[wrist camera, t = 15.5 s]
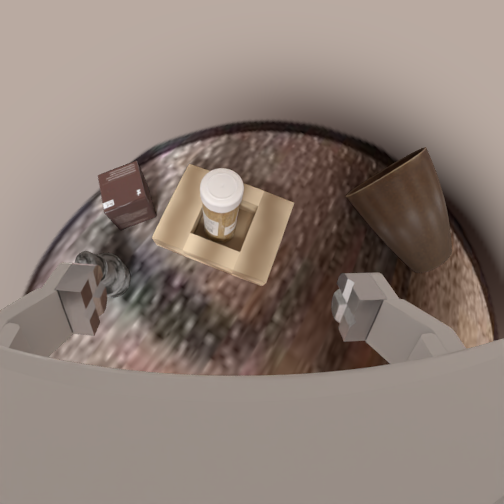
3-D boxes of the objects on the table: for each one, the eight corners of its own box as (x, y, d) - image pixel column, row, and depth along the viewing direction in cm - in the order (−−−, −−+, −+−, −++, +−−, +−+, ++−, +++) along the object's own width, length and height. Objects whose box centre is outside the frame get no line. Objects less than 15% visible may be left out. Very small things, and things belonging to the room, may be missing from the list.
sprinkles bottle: (239, 240, 43) (249, 201, 30) (207, 247, 42) (204, 210, 29) (231, 210, 44) (238, 162, 31) (200, 217, 43) (195, 171, 30)
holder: (288, 212, 45) (294, 202, 42) (262, 286, 42) (266, 282, 38) (190, 175, 45) (189, 163, 41) (156, 244, 41) (152, 237, 38)
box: (148, 183, 44) (138, 159, 37) (157, 218, 43) (147, 197, 36) (112, 196, 43) (96, 174, 35) (119, 231, 41) (103, 213, 34)
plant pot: (447, 230, 47) (406, 154, 46) (489, 241, 32) (440, 139, 32) (384, 274, 50) (339, 197, 49) (411, 299, 36) (354, 194, 35)
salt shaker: (117, 250, 41) (86, 222, 29) (140, 282, 40) (113, 263, 28) (88, 275, 39) (49, 256, 28) (110, 307, 38) (73, 298, 27)
